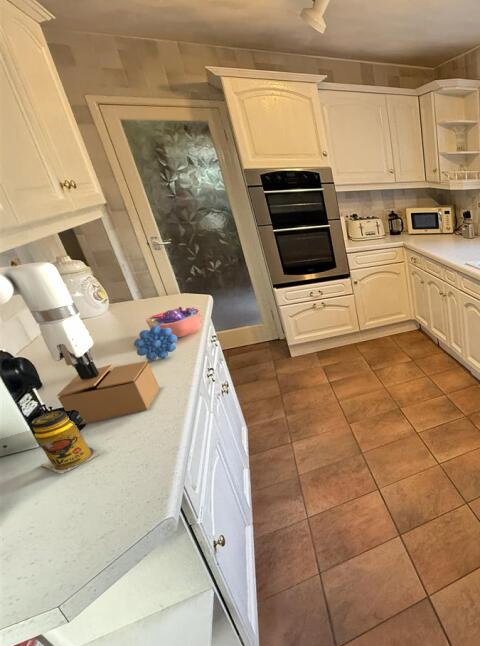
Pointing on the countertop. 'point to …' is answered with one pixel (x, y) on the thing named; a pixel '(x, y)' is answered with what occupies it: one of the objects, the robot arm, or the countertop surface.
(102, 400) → the carton
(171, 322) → the cell model
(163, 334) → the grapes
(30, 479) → the countertop surface
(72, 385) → the flap
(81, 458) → the condiment
